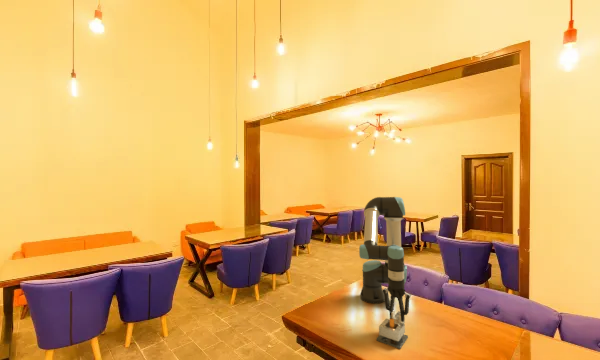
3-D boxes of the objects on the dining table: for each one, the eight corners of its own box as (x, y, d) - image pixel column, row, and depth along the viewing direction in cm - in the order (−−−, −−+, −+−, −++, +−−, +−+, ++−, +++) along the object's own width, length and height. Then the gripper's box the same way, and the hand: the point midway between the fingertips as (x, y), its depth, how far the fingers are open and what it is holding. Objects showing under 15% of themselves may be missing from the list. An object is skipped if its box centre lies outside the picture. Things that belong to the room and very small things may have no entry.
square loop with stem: (392, 319, 141) (392, 309, 141) (410, 324, 135) (410, 314, 135) (379, 334, 127) (378, 324, 127) (398, 341, 121) (398, 330, 121)
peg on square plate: (385, 330, 135) (384, 311, 135) (407, 337, 129) (407, 317, 129) (376, 340, 127) (376, 320, 127) (400, 349, 120) (399, 327, 120)
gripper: (377, 277, 135) (378, 324, 135) (410, 284, 125) (411, 335, 125) (383, 273, 141) (384, 318, 141) (415, 279, 131) (416, 328, 131)
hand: (397, 326), depth 133 cm, fingers closed on square loop with stem, 3 cm apart
